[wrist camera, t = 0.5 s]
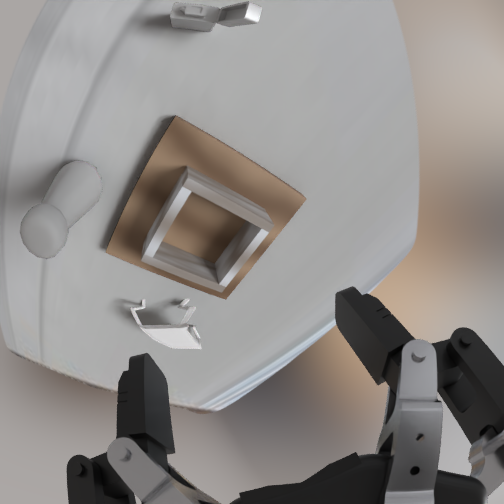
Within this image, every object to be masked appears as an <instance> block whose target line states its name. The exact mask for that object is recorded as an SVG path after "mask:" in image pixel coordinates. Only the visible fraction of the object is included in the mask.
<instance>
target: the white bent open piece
mask: <svg viewBox="0 0 504 504" xmlns="http://www.w3.org/2000/svg"><path fill="white" fill-rule="evenodd" d="M188 301H189V299H184V300H183V301H182V302H181V304H180V305H179V306H178V308H180V309H186V310H188V311H187V312H186V314H185V316H184V318H183V319H182V321H181V323H180V324H178V325H171V324H168V325H142V324H141V322H140V320H139V318H138V316H137V314H136V312H135V310H139V309H144V308H145V302H146V301H145V299H142V307H130V311H131V313H132V315H133V317H134V319H135V320H136V322H137V324H138V325H139V327H140V328H141V329H142V330H143V331H144V332H145V333H146V334H147V335H149V336H150V337H151V338H152V339H154V340H155V341H157V342H159V343H161V344H164V345H166V346H168V347H170V348H171V349H172V348H184V349H201V339H200V336H199V334H198V332H197V331H196V329H195V328H196V326H193V330H194V333H195V336H196V338H197V341H196V340H195V339H194V338H193V337H192V336H191V334H190V333H189V332H188V330H187V328H188V327H189V325H188V324H187V322H188V320H189V319H190V317H191V315H192V314H193V312H194V311H195V309H196V307H185V306H184V305H185V304H186V303H187V302H188Z"/></svg>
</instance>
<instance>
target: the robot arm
mask: <svg viewBox="0 0 504 504" xmlns="http://www.w3.org/2000/svg"><path fill="white" fill-rule="evenodd" d="M335 319H336V324H337V326H338V329H339V330H340V332H341V333H342V335H343V336H344V338H345V339H346V340H347V342H348V343H349V345H350V346H351V347H352V349H353V350H354V352H355V353H356V355H357V356H358V358H359V359H360V360H361V362H362V363H363V365H364V366H365V368H366V369H367V370H368V372H369V373H370V375H371V376H372V378H373V379H374V381H375V382H376V383H377V385H380V384H381V383H383V382H385V381H386V382H387V384H388V385H389V387H388V394H387V402H386V409H385V416H384V422H383V427H382V431H381V433H380V437H379V440H378V444H377V448H376V453H375V454H367V455H360V456H358V455H357V453H356V452H355V453H353V454H351V455H349V456H347V457H345V458H342V459H340V460H338V461H336V462H334V463H331V464H329V465H327V466H326V467H325V468H323V469H322V470H320V471H319V472H317V473H316V474H314V475H313V476H311V477H310V478H308V479H307V480H305V481H303V482H301V483H295V484H284V485H272V486H265V487H262V488H258V489H254V490H250V491H245V492H241V493H239V494H240V498H238V499H236V500H234V501H233V502H231V503H230V504H487V502H488V496H489V495H490V494H491V493H492V492H493V491H494V490H495V489H496V488H498V487H499V486H500V485H501V484H502V482H504V366H503V365H502V363H501V362H500V361H499V360H498V359H497V357H496V356H495V355H494V353H493V352H492V351H491V350H490V349H489V348H488V346H487V345H486V344H485V343H484V342H483V341H482V339H481V338H480V337H479V336H478V335H477V334H476V333H475V332H474V331H473V330H471V329H469V328H458V329H456V330H455V331H454V332H453V334H452V336H451V338H450V339H448V340H445V341H440V342H437V343H432V344H430V343H429V342H427V341H425V340H421V339H415V338H414V337H413V336H412V335H411V334H410V333H409V332H408V331H407V330H406V329H405V327H404V326H403V325H402V324H401V323H400V322H399V321H398V320H397V319H396V318H395V317H394V316H393V315H392V314H391V312H390V311H389V310H388V309H387V308H385V306H384V305H383V304H382V303H381V302H380V301H379V300H378V299H377V298H375V297H373V296H371V295H369V294H364V295H361V293H360V292H359V291H358V290H357V289H356V288H355V287H349V288H347V289H345V290H342V291H340V292H337V293H336V297H335ZM437 391H438V393H439V394H440V396H441V397H442V399H443V400H444V402H445V403H446V405H447V406H448V408H449V409H450V411H451V412H452V414H453V416H454V417H455V419H456V420H457V422H458V423H459V425H460V426H461V428H462V430H463V431H464V433H465V435H466V437H467V438H468V440H469V441H470V443H471V445H472V446H471V448H470V452H469V457H468V460H469V462H470V463H471V465H472V470H471V474H470V476H466V475H460V474H455V473H450V472H446V471H441V470H437V469H438V462H439V454H440V446H441V434H442V418H443V407H442V406H443V405H442V402H441V401H438V399H437ZM117 402H118V404H117V437H116V440H114V441H113V442H112V443H111V444H110V445H109V447H108V450H107V452H106V453H103V454H101V455H99V456H96V457H94V458H91V459H89V458H87V457H85V456H83V455H76V456H73V457H72V458H71V459H70V460H69V462H68V464H67V488H68V500H69V504H136V501H135V496H134V493H135V495H136V496H137V497H138V498H139V499H140V500H141V502H142V504H221V503H219V502H218V501H216V500H215V499H214V498H212V497H211V496H209V495H207V494H205V493H204V492H202V491H201V490H199V489H198V488H197V487H196V486H194V485H193V484H192V483H191V482H189V481H188V480H187V479H186V478H185V477H184V476H183V475H181V474H180V473H179V472H178V471H177V470H175V468H174V467H172V466H171V465H170V464H169V463H168V461H167V454H173V453H175V448H174V441H173V433H172V425H171V416H170V406H169V396H168V385H167V381H166V378H165V376H164V374H163V373H162V371H161V370H160V369H159V367H158V366H157V365H156V363H155V362H154V360H153V359H152V358H151V356H150V355H149V354H148V353H145V354H141V355H137V356H132V357H130V359H129V370H128V371H123V373H122V376H121V378H120V380H119V382H118V401H117Z"/></svg>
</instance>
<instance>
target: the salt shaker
mask: <svg viewBox="0 0 504 504" xmlns="http://www.w3.org/2000/svg"><path fill="white" fill-rule="evenodd" d="M101 192H102V178H101V176H100V174H99V173H98V171H97V168H96V167H94V166H92V165H91V164H89V163H88V162H85V161H79V160H76V161H73V162H71V163H68V164H66V165H64V166H63V168H62V169H61V170H60V171H59V172H58V173H57V175H56V177H55V178H54V180H53V182H52V184H51V186H50V187H49V189H48V191H47V193H46V195H45V197H44V199H43V201H42V203H41V204H39V205H37V206H34V207H32V208H31V209H30V210H29V211H28V213H27V214H26V215H25V217H24V218H23V220H22V222H21V228H20V234H21V238H22V241H23V244H24V245H25V246H26V248H27V249H28V250H29V252H31V253H32V254H34V255H35V256H37V257H40V258H45V259H48V258H52V257H55V256H56V255H57V254H58V253H59V252H60V250H61V249H62V248H63V247H64V245H65V243H66V240H67V236H68V231H69V228H71V227H72V226H73V225H74V224H75V223H76V222H77V221H78V220H79V219H80V218H81V217H82V216H83V215H85V214H86V213H87V212H88V211H89V210H90V209H91V208H92V207H93V206H94V205H95V204H96V203H97V202H98V201H99V198H100V195H101Z"/></svg>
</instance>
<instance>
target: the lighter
mask: <svg viewBox="0 0 504 504" xmlns="http://www.w3.org/2000/svg"><path fill="white" fill-rule="evenodd" d="M261 11H262V7H261V6H259V5H256V4H254V3H252V2H249V1H248V2H243V3H238V4H234V5H230V6H226V7H222V8H221V9H219V8H218V7H212V6H205V5H198V4H189V3H179V2H176V3H174V5H173V8H172V11H171V14H170V20H171V25H172V27H173V28H183V29H192V30H199V31H206V32H211V31H212V29H213V27H214V26H215V24H216V23H217V24H221V25H224V26H227V27H233V26H240V25H248V24H256V23H257V22H258V21H259V18H260V14H261Z"/></svg>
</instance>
